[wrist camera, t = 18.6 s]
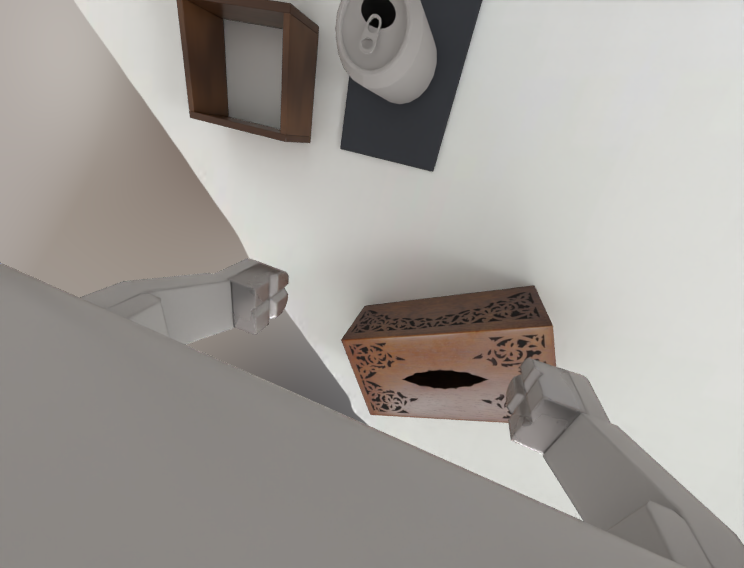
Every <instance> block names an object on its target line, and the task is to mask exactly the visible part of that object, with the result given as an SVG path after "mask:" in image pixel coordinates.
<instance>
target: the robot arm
mask: <svg viewBox="0 0 744 568" xmlns="http://www.w3.org/2000/svg"><path fill="white" fill-rule="evenodd" d="M288 277H289V275H288V274H287V272H285V271H283V270H280V269H277V268H275V267H272V266H269V265H267V264H264V263H261V262H259V261H256V260H253V259H245V260H243V261H240V262H238V263H236V264H234V265H232V266H230V267H227V268H225V269H223V270H221V271H219V272H217V273H215V274H211V273H203V274H193V275H183V276H172V277H163V278H152V279H142V280H132V281H123V282H120V283H117V284H115V285H112V286H109V287H106V288H104V289H101V290H99V291H96V292H93V293H90V294H88V295H85V296H82V297H80V298H79V297H77V296H75V295H73V294H70V293H68V292H66V291H64V290H61V289H59V288H57V287H54V286H52V285H50V284H48V283H46V282H43V281H41V280H39V279H37V278H34V277H32V276H30V275H27V274H25V273H23V272H21V271H19V270H16V269H14V268H12V267H9V266H7V265H5V264H3V263H1V262H0V568H744V545H743V544H742V542H741V541H740V539H739V538H738V536H737V535H736V534H735V533H734V532H733V531H732V530H731V529H730V528H728V527H727V526H726V525H725V524H724V523H723V522H722V521H721V520H720V519H719V518H718V517H716V516H715V515H714V514H713V513H712V512H711V511H710V510H709V509H708V508H707V507H705V506H704V505H703V504H702V503H701V502H700V501H699V500H698V499H697V498H696V497H695V496H693V495H692V494H691V493H690V492H689V491H688V490H687V489H686V488H685V487H684V486H683V485H681V484H680V483H679V482H678V481H677V480H676V479H675V478H674V477H673V476H672V475H671V474H669V473H668V472H667V471H666V470H665V469H664V468H663V467H662V466H661V465H660V464H659V463H657V462H656V461H655V460H654V459H653V458H652V457H651V456H650V455H649V454H648V453H647V452H645V451H644V450H643V449H642V448H641V447H640V446H639V445H638V444H637V443H636V442H635V441H633V440H632V439H631V438H630V437H629V436H628V435H627V434H626V433H625V432H624V431H622V430H621V429H620V428H619V427H618V426H616V425H614V424H611V423H610V421H609V419H608V417H607V415H606V413H605V411H604V409H603V407H602V405H601V403H600V401H599V399H598V397H597V396H596V394H595V392H594V390H593V388H592V386H591V384H590V382H589V380H588V379H587V378H586V377H585V376H584V375H580V374H577V373H574V372H571V371H568V370H564V369H561V368H558V367H555V366H552V365H549V364H546V363H543V362H540V361H537V360H534V359H531V358H527V359H526V360H524V361H523V363H522V364H521V366H520V370H521V374H520V375H518V376H515V377H513V378H512V380H511V382H510V383H509V385H508V389H507V392H506V407H507V409H508V410H509V411H510V413H511V414H512V415H511V417H510V418H509V419H508V423H509V430H510V436H511V441H513V442H516V443H518V444H520V445H522V446H525V447H527V448H529V449H532V450H534V451H536V452H538V453H541V454H543V457H544V459H545V461H546V462H547V464H548V465H549V467H550V469H551V470H552V472H553V473H554V475H555V476H556V478H557V480H558V481H559V483H560V484H561V486H562V488H563V489H564V491H565V492H566V494H567V496H568V497H569V499H570V500H571V502H572V503H573V505H574V507H575V508H576V510H577V511H578V513H579V515H580V516H581V518H582V519H583V521H582V520H580V519H577V518H575V517H573V516H571V515H568V514H566V513H564V512H561V511H559V510H557V509H555V508H552V507H550V506H548V505H546V504H543V503H541V502H539V501H537V500H534V499H532V498H530V497H528V496H525V495H523V494H521V493H518V492H516V491H514V490H512V489H509V488H507V487H505V486H503V485H500V484H498V483H496V482H494V481H491V480H489V479H487V478H485V477H482V476H480V475H478V474H476V473H473V472H471V471H469V470H467V469H464V468H462V467H460V466H458V465H455V464H453V463H451V462H449V461H446V460H444V459H442V458H440V457H438V456H435V455H433V454H431V453H429V452H426V451H424V450H422V449H420V448H417V447H415V446H413V445H411V444H408V443H406V442H404V441H402V440H399V439H397V438H395V437H393V436H390V435H388V434H386V433H384V432H381V431H379V430H377V429H375V428H372V427H370V426H368V425H366V424H363V423H361V422H359V421H356V420H354V419H352V418H349V417H348V416H345V415H343V414H341V413H338V412H336V411H334V410H332V409H329V408H327V407H325V406H323V405H320V404H318V403H316V402H314V401H311V400H309V399H307V398H305V397H302V396H300V395H298V394H296V393H293V392H291V391H289V390H287V389H284V388H282V387H280V386H278V385H275V384H273V383H271V382H268V381H266V380H264V379H262V378H259V377H257V376H255V375H253V374H250V373H248V372H246V371H244V370H241V369H239V368H237V367H235V366H232V365H230V364H228V363H226V362H223V361H221V360H219V359H217V358H214V357H212V356H210V355H208V354H205V353H203V352H201V351H198V350H196V349H194V348H192V347H190V346H187V345H186V344H189V343H192V342H194V341H198V340H201V339H203V338H207V337H209V336H212V335H215V334H218V333H221V332H224V331H227V330H230V329H233V328H234V327H235V328H238V329H241V330H243V331H245V332H248V333H251V334H253V335H257V334H258V333H259V332H260V331H261V330H263V329H264V328H265V327H266V326H267V325H268V324H269V319H273V318H276V317H278V316H279V315H280V314H281V313H282V312H283V310H284V308H285V307H286V304H287V300H288V293H287V291H286V289H285V288H284V287H285V286H286V285H287V284H288Z"/></svg>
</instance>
